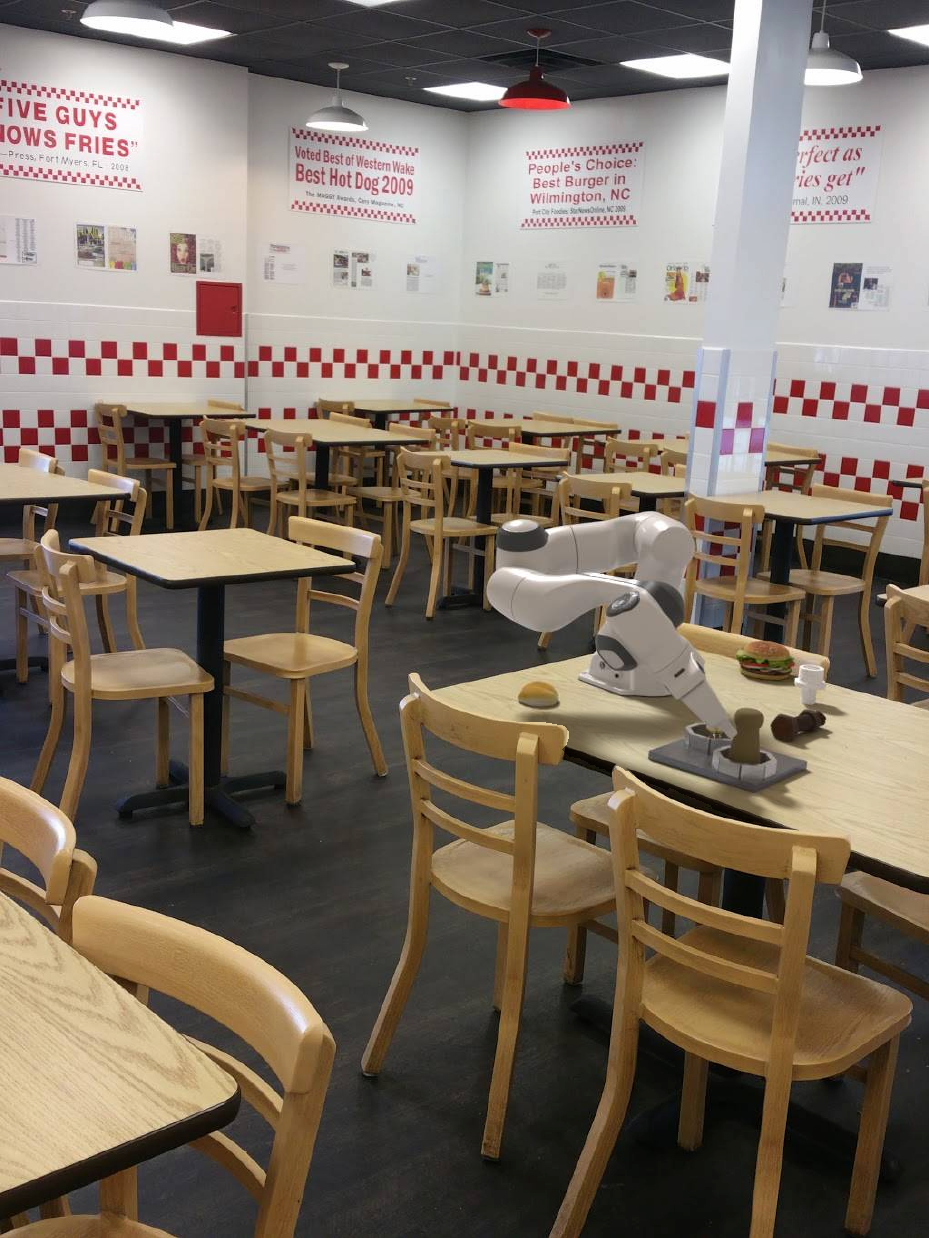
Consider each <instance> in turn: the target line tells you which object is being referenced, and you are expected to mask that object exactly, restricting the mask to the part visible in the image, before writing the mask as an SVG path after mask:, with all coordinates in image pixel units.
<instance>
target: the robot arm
mask: <svg viewBox="0 0 929 1238" xmlns="http://www.w3.org/2000/svg"><path fill="white" fill-rule="evenodd" d="M495 546H496V555H495V571H494V573H492V575H491V576H490V577H489V580H488V582H487V585H486V595H487V600H488V602H489V604H490V605H492V607H493V608H494V609H495V610H497V611H498V612H499V613H500V614H502V615H504V616H505V617H506V618H508V619H509V620H510V621H511V622H515V623H516V624H519V625H521V626H522V627H525V628H527V629H529V630H532V631H536V632H539V633H540V632H541V633H551V632H555V631H558V630H560V629H562V628H565V627H566V626H567V625H569V624H570V623H572V622H573V621H575V620H576V619H578V618H580V616H582V615H584V614H586V613H587V612H589V611H592V610H593V609H595V608H598V607H600V606H607V608H606V610H605V614H604V618H605V622H604V624H603V625H602V626H601V628H600V629H599V630H598V632H597V634H596V635H595V649H596V651H595V652H594V653H593V654H592V656H591V658H590V659H591V660H590V663H589V666H588V667H589V668H587V669H584V670H582V671H581V672H579V673H578V677H577V679H578V680H581V681H583V682H584V683H585V682H586V683H588V684H591V685H594V686H596V687H599V688H602V689H605V690H607V691H610V692H612V693H615V694H618V695H620V696H645V697H664V696H673V698H674V699H675V700H678V701H679V700H681V702H682V703H683V704H685V706H686V707H687V708H689V709H690V710H691V711H692V712H693V713H694V714H695V715H696V716H697V718H699V719H700V720H701V722H702V723H706V724H707V725H708V726H709V727H711V728H716V727H718V728H719V729H721V730H722V731H723V732H724V733H725V734H726V735H727V736H728V737H729V738H733V737H734V736H735V735H737V731H736V729H735V728H736V727H734V725H733V724H732V723H731V721H730V720H729V721H728V719H727V718H728V714H729V713H728V712H727V711H726V710H725V708H724V706H723V704H722V703H721V701H720V699H719V697H718V696H717V694H716V693H715V691H714V689H713V687H712V685H711V684H710V683H709V682H708V681H707V675H706V671H705V662H706V661H705V659H704V657H703V656H702V655H701V654H700V653H699V652H698V650H697V649H696V648H695V647H694V645H692V644H691V642H690V641H689V640H688V639H687V638H686V637H684V636H683V635H682V634H680V632H678V628H679V627H680V626H682V624H684V622H685V617H686V607H685V606H686V605H685V600H684V597H683V596H682V594H681V588H682V585H683V582H684V578H685V575H686V572H687V568H688V564H689V563H690V562H691V561H692V560H693V557H694V555H695V551H696V543H695V539H694V537H693V535H692V533H691V531H690V530H689V529H688V527H687V526H686V525H685V524H684V523H682V522H681V521H679V520H676V519H674V518H672V517H669V516H667V515H665V514H663V513H661V512H658V511H652V510H651V511H650V510H649V511H642V512H639V513H634V514H633V513H632V514H629V515H624V516H618V517H615V518H611V519H606V520H602V521H593V522H584V523H577V524H567V525H561V526H556V527H551V528H546V529H545V528H544V526H542V524H540V523H538V522H537V521H535V520H531V519H525V518H523V519H514V520H510V521H506V522H505V523H503V524H502V525H501V526H500V527H499V528H498V529H497V533H496V539H495ZM633 564H637V565H636V566H637V567H636V569H635V572H634V573H635V574H634V577H633V579H629V578H625V577H619V576H613V575H609V574H608V575H607V574H604V573H610V572H613V571H614V570H616V569H618V568H623V567H626V566H630V565H633ZM602 573H603V574H602ZM727 713H728V714H727Z"/></svg>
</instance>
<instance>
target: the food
mask: <svg viewBox="0 0 929 1238" xmlns="http://www.w3.org/2000/svg"><path fill="white" fill-rule="evenodd" d="M735 658H736V660H737V661H738V664H739V665H740V666H739V667H738V669H739V673H741V674H742V675H744V676H746V677H751V678H753V679H756V680H757V679H759V680H767V681H780V680H785V679H788V678H789V676H790V674H791V673H792V672H793V669H792V668H793V667H795V665H796V663H795V662H794V661H795V658H794V657H792V656H791V654H790V650H789V649H788V648H786V646H784V645H782V644H780V643H778V642H774V641H770V640H769V641H768V640H757V641H751V642H749V643H747V644H745V645H744V647H742V648H741V649H739V650H737V652H736V653H735Z"/></svg>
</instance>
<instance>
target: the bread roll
mask: <svg viewBox="0 0 929 1238" xmlns="http://www.w3.org/2000/svg"><path fill="white" fill-rule="evenodd" d="M517 698H518V699H517V700H518V701H519V702H520V703H522V704H524V705H528V706H530V707H538V708H540V707H541V708H542V707H550V706H554V705H556V704H557V702H558V701H559V694H558V691H557V690H556V689H555V687H554V686H553V685H551V684H550V683H547V682H545V681H540V680H538V681H531V682H530V683H527V684H525V685H524V686H523V687H522V689H521V690H520V691H519V693H518V696H517Z"/></svg>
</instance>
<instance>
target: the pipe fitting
mask: <svg viewBox="0 0 929 1238" xmlns="http://www.w3.org/2000/svg"><path fill="white" fill-rule="evenodd" d="M798 670H799V671H798V677H794V681H793V682H794V685H795V687H798V688H800V689H801V691H800V699H799V700H800V701H799V702H800V703H801V704H804V705H815V704H816V700H817V693H818V692H817V691H818V690H826V688H827V687H826V686H827V685H826V684H827V683H826V681H825V680H824V674H825V673H824V672H825V668H824V667H822V666H820V665H814V664H802V665H799V669H798Z"/></svg>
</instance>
